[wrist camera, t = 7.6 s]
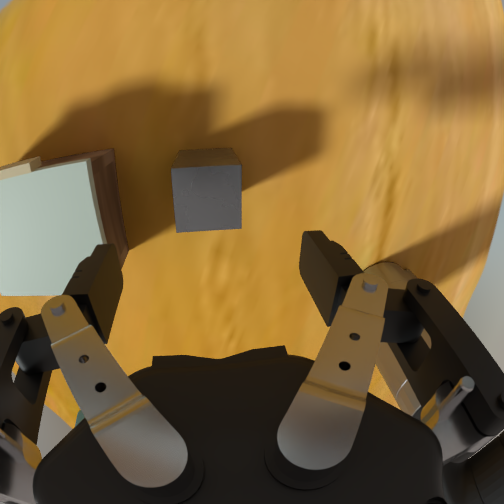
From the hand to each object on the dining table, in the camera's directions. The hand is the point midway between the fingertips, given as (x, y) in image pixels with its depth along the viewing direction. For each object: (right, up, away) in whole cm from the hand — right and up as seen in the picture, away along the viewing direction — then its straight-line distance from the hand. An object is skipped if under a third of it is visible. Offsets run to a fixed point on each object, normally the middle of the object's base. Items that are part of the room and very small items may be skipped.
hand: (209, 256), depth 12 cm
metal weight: (-2, +7, +12) cm, 14 cm away
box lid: (-15, +2, +6) cm, 16 cm away
